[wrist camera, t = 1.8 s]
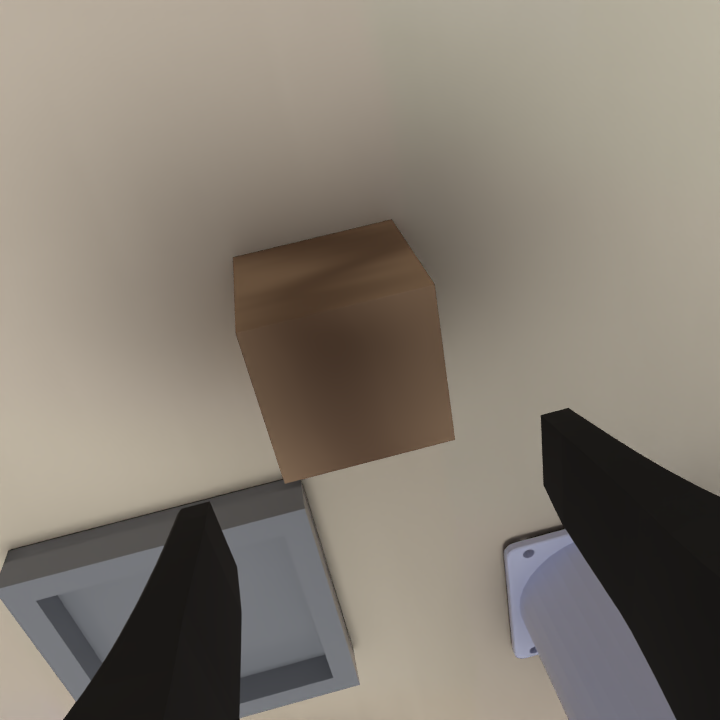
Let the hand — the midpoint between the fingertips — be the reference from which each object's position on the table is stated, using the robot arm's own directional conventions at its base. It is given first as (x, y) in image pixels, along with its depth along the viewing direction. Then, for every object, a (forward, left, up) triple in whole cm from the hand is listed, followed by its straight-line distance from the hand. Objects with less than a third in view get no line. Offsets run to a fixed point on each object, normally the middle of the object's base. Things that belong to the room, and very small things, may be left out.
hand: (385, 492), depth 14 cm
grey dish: (+8, +12, -9) cm, 17 cm away
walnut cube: (0, 0, -9) cm, 9 cm away
